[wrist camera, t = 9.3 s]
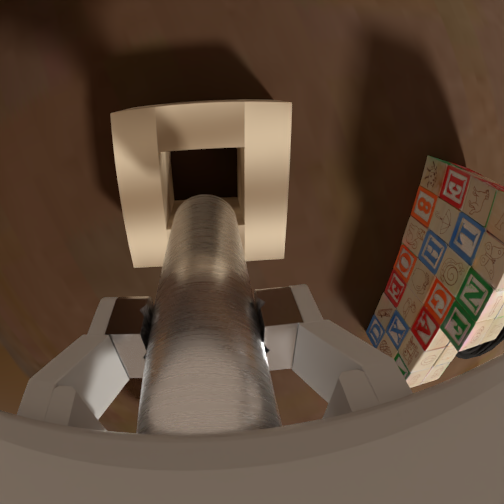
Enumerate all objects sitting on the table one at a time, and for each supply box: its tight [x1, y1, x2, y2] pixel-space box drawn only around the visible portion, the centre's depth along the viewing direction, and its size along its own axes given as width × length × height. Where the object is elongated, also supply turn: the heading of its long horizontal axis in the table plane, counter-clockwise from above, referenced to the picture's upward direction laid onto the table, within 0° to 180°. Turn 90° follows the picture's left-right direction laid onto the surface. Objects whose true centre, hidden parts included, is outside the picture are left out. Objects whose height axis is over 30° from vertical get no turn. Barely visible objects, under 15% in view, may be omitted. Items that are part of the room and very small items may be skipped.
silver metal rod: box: [137, 194, 282, 434], centre depth 8 cm, size 3×3×14 cm
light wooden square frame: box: [110, 99, 292, 268], centre depth 19 cm, size 10×10×5 cm
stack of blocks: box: [366, 156, 504, 388], centre depth 23 cm, size 21×6×12 cm, turn 174°
